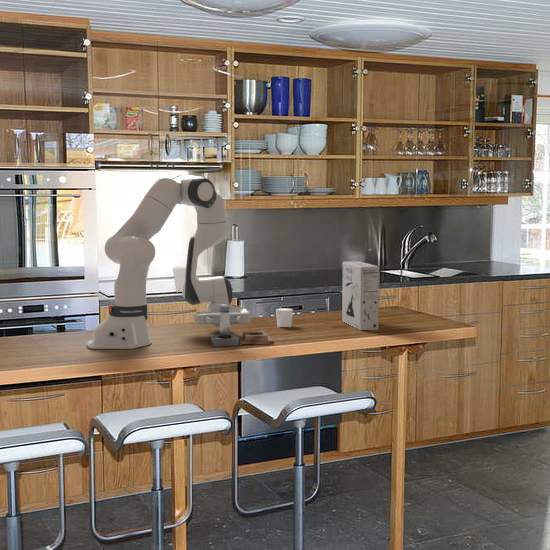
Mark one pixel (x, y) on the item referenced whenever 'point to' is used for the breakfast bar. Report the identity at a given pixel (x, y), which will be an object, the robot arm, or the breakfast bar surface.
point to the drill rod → (224, 321)
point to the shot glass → (284, 317)
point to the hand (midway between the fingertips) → (224, 321)
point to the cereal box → (360, 295)
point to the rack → (255, 338)
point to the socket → (225, 340)
